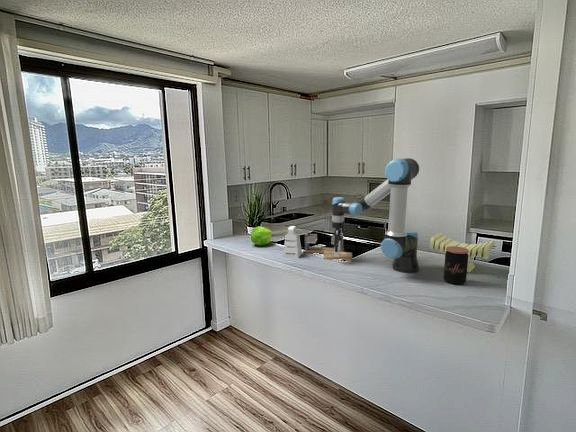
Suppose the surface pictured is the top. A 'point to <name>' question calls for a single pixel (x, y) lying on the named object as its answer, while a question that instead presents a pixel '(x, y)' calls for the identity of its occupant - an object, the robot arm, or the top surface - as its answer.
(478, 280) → the top surface
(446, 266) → the coffee jar
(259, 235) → the lettuce
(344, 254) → the rail
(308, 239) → the bracket stand
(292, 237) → the grater
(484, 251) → the slatted curved stool
